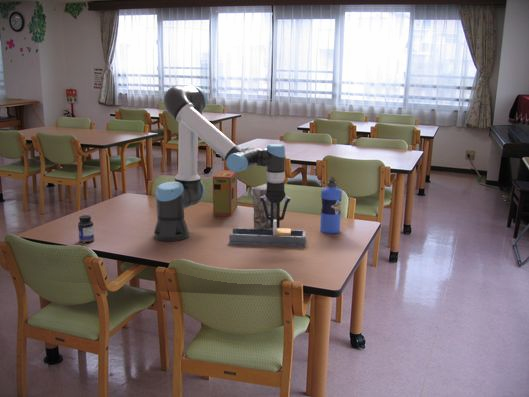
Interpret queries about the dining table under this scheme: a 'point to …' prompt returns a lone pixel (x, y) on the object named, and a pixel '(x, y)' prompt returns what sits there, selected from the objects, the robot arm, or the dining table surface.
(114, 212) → the dining table surface
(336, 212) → the water bottle
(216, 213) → the box
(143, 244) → the dining table surface
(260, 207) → the stone block
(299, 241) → the chute
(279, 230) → the block
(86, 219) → the pill bottle
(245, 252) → the dining table surface
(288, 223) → the dining table surface
